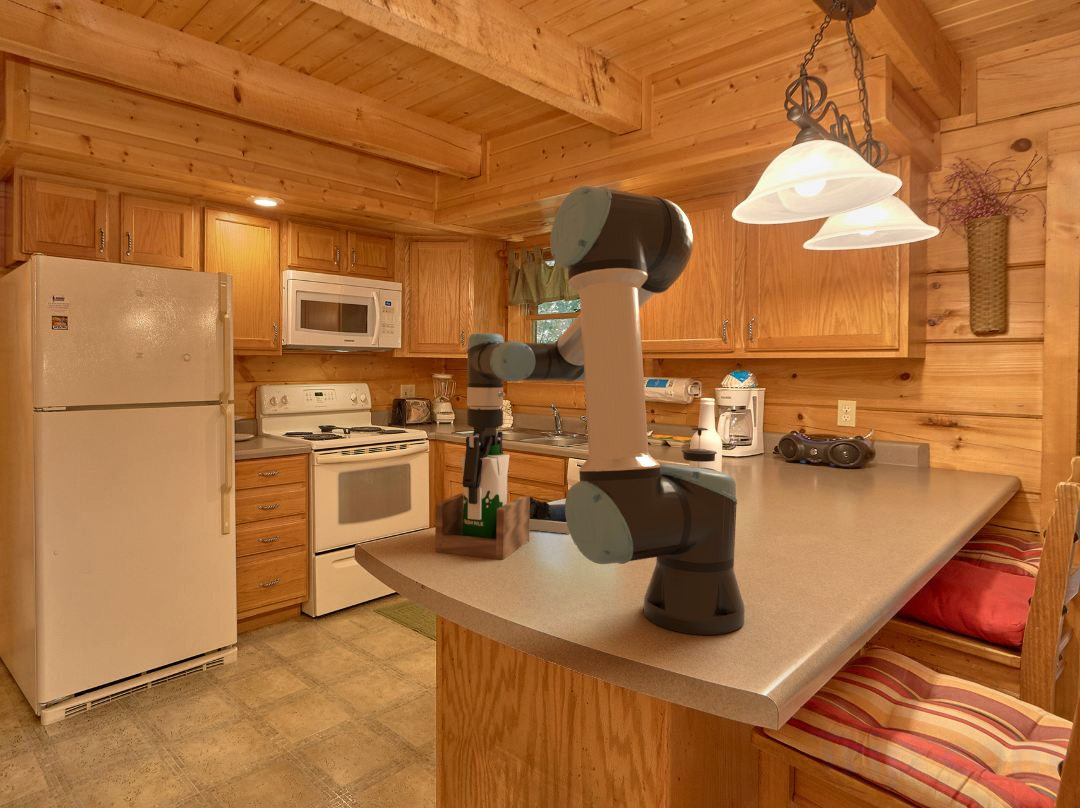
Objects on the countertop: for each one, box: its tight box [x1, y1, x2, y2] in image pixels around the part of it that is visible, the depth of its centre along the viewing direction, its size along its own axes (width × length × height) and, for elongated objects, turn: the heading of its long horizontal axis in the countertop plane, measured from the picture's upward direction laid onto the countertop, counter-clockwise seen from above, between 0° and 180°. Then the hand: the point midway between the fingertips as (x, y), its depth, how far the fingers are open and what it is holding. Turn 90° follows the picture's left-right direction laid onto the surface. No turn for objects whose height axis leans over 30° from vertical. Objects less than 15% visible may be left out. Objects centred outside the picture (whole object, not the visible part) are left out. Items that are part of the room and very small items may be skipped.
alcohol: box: [689, 397, 723, 472], centre depth 185 cm, size 9×9×30 cm
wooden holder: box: [434, 492, 531, 561], centre depth 139 cm, size 15×15×10 cm
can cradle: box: [529, 515, 570, 535], centre depth 160 cm, size 15×12×2 cm
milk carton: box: [459, 444, 510, 539], centre depth 139 cm, size 9×9×20 cm
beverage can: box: [530, 496, 566, 522], centre depth 160 cm, size 9×8×12 cm
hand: (484, 513), depth 139 cm, fingers closed on milk carton, 9 cm apart
